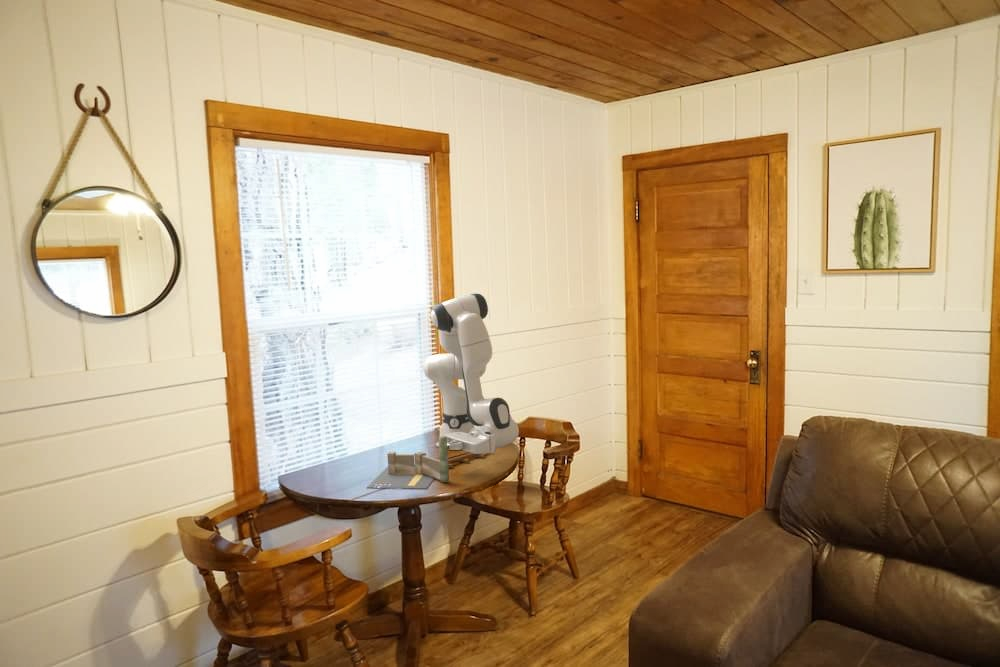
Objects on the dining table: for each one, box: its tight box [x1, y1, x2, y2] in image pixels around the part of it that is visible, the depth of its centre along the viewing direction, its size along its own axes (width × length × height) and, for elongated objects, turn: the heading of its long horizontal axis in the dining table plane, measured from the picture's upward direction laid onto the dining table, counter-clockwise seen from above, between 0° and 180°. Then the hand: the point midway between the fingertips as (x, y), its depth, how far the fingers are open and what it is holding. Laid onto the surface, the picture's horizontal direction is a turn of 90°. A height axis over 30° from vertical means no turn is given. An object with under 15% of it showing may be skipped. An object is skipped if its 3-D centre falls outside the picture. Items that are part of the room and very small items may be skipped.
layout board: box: [366, 466, 435, 490], centre depth 239 cm, size 26×21×1 cm
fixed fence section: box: [386, 451, 415, 474], centre depth 242 cm, size 2×9×8 cm, turn 82°
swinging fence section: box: [413, 436, 450, 483], centre depth 236 cm, size 3×17×15 cm, turn 43°
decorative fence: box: [436, 451, 486, 469], centre depth 258 cm, size 25×2×10 cm
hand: (447, 446), depth 231 cm, fingers closed
